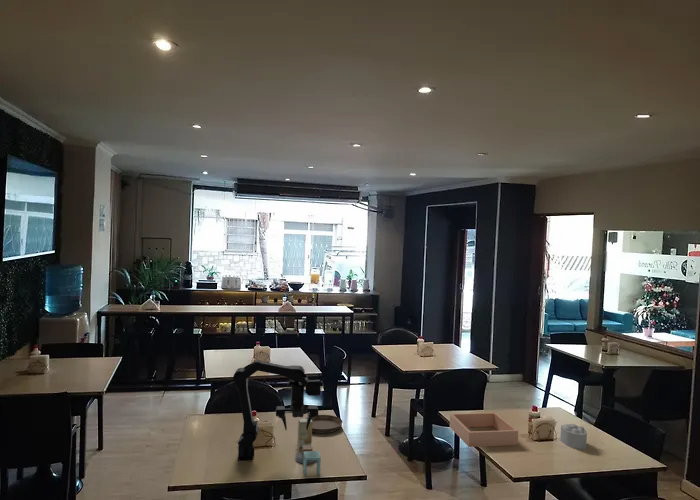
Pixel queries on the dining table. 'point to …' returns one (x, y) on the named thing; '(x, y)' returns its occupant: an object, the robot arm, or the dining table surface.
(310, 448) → the walnut block
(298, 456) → the grey domed disc
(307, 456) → the teal arch
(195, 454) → the dining table surface
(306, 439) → the skincare box
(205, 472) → the dining table surface
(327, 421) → the plant saucer
